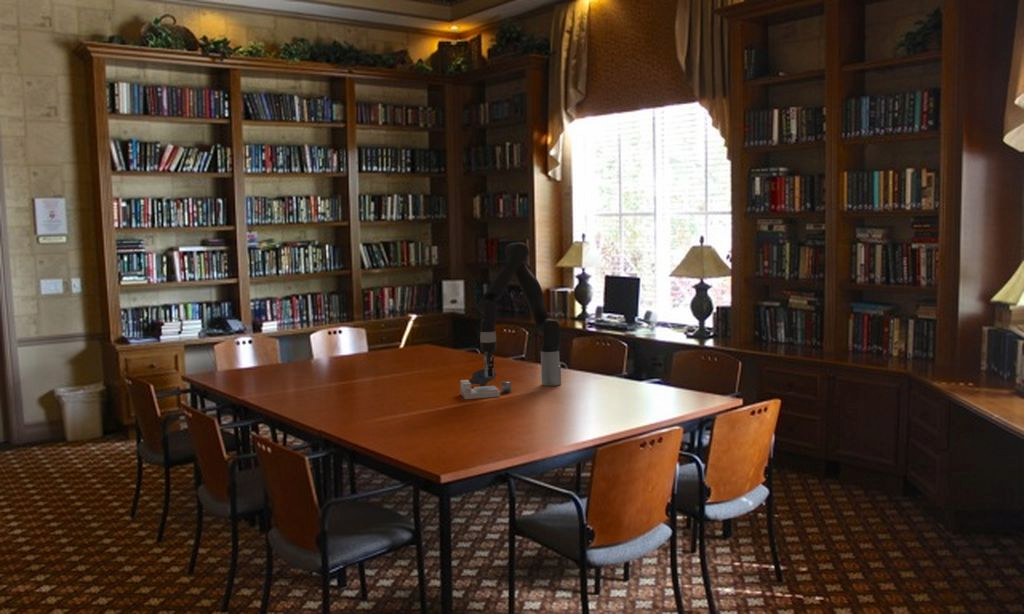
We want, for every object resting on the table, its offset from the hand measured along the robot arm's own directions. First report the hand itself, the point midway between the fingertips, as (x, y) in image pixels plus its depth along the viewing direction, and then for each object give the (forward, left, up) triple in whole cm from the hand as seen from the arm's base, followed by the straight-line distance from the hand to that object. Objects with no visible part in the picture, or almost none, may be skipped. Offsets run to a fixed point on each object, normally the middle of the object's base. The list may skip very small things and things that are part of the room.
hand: (489, 375), depth 438 cm
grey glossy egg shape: (0, 0, -1) cm, 1 cm away
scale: (+5, +3, -9) cm, 11 cm away
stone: (0, -21, -9) cm, 22 cm away
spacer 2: (-8, 0, -9) cm, 12 cm away
